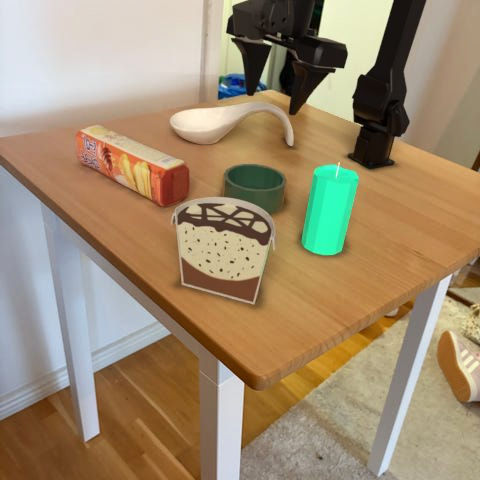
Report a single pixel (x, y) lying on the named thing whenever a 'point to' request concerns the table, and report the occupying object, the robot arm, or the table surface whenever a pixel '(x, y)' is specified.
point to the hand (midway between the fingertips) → (270, 105)
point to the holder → (255, 186)
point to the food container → (223, 246)
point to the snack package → (134, 165)
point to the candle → (329, 209)
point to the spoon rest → (222, 121)
